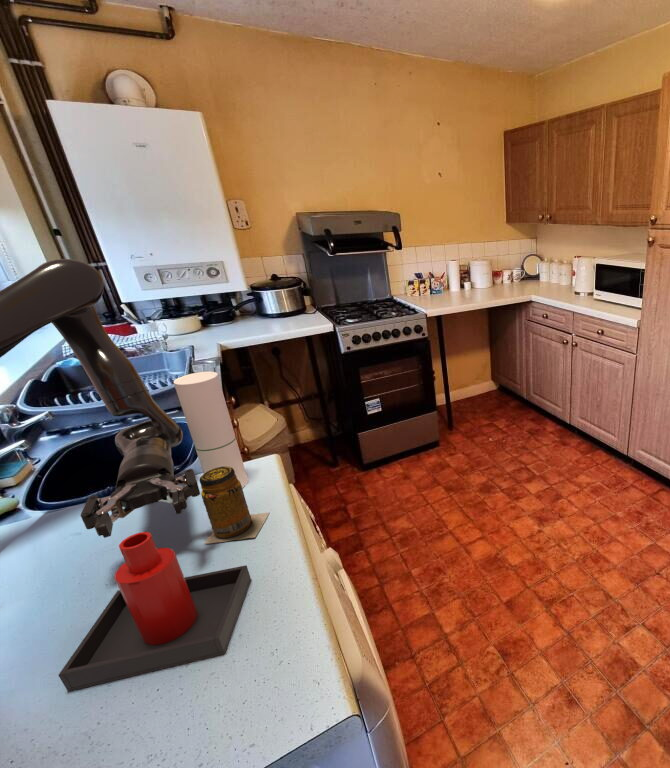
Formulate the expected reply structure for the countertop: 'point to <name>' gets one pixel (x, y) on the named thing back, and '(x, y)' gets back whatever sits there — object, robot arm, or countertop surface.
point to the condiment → (228, 507)
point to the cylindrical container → (210, 422)
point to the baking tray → (134, 657)
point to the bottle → (154, 590)
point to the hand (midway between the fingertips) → (142, 520)
